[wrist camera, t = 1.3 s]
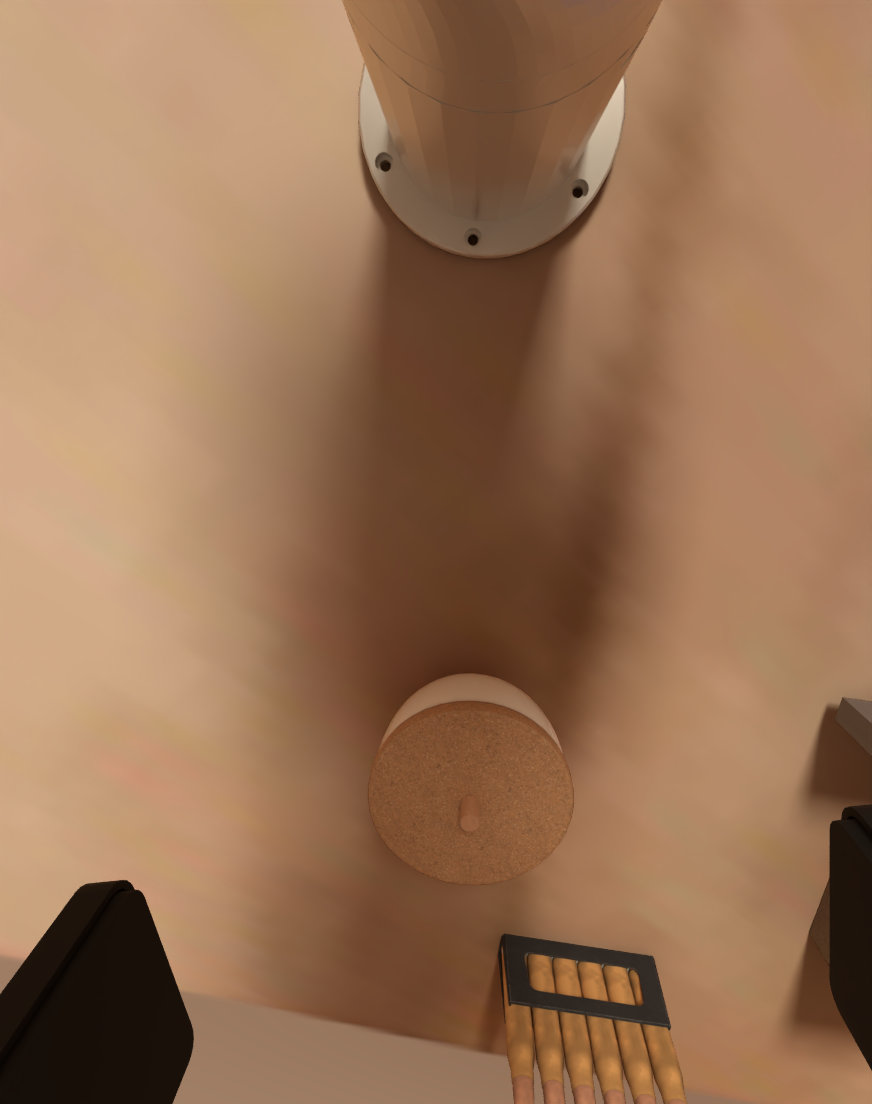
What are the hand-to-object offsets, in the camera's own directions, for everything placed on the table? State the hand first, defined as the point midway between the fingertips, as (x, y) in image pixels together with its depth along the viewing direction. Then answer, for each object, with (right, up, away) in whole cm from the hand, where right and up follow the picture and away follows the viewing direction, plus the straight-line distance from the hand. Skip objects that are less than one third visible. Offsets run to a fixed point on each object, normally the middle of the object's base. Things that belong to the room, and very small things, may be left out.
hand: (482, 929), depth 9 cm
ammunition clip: (+9, -23, +37) cm, 45 cm away
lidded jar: (+2, -6, +33) cm, 33 cm away
